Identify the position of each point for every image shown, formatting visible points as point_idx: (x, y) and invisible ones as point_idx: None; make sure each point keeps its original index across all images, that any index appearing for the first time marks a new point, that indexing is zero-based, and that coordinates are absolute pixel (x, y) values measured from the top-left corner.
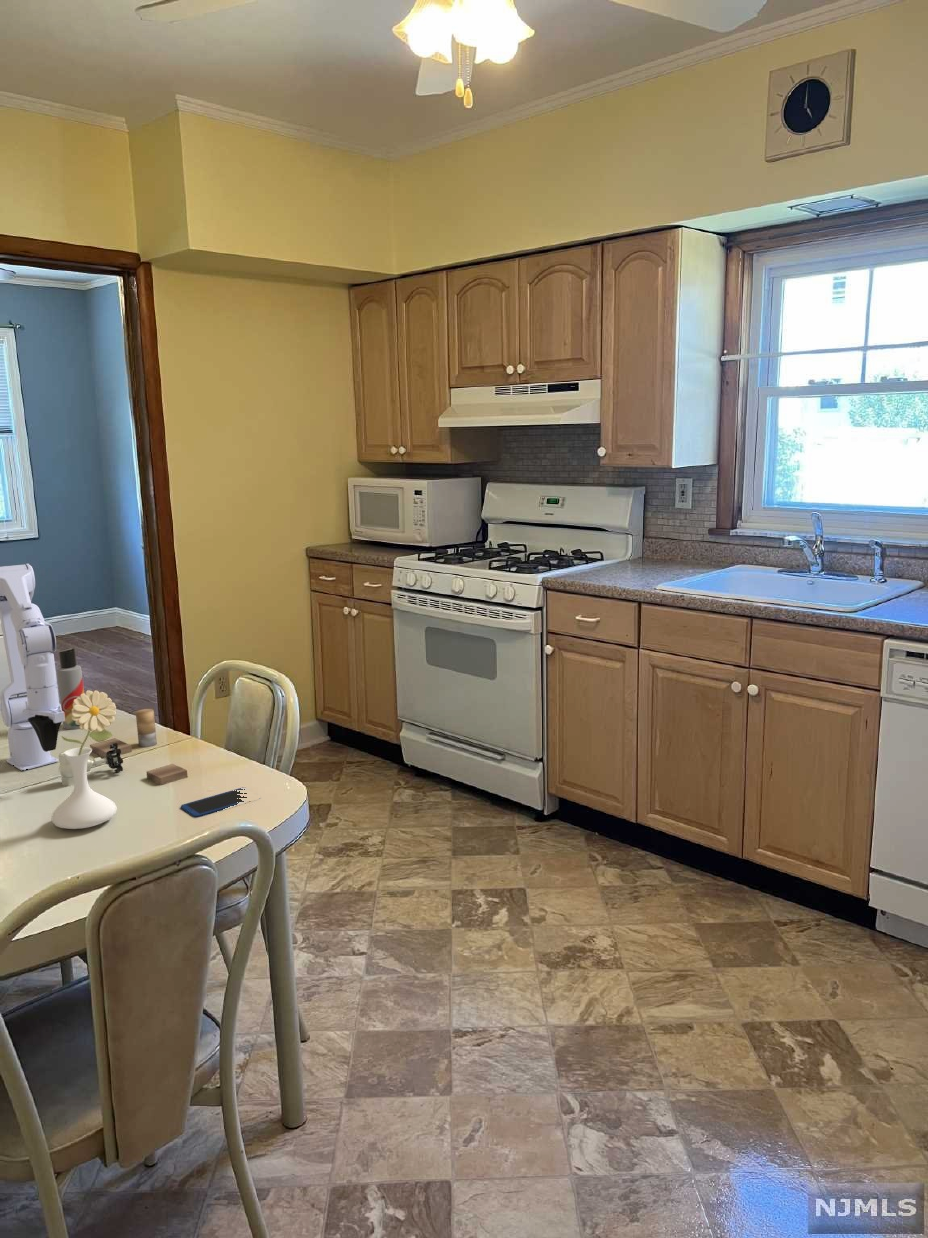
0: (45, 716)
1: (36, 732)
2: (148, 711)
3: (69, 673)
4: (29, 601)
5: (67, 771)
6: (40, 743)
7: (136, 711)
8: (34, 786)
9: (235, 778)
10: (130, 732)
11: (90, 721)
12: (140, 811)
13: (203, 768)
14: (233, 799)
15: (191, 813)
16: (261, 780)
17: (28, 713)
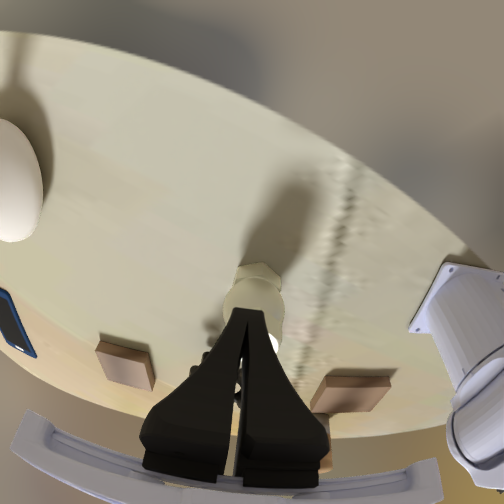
0: (160, 471)
1: (272, 375)
2: None
3: None
4: None
5: (231, 293)
6: (263, 331)
7: (331, 467)
8: (326, 218)
9: (73, 378)
10: (384, 420)
11: None
12: (14, 258)
13: (133, 393)
14: (6, 330)
15: None
16: (54, 378)
17: (183, 497)
